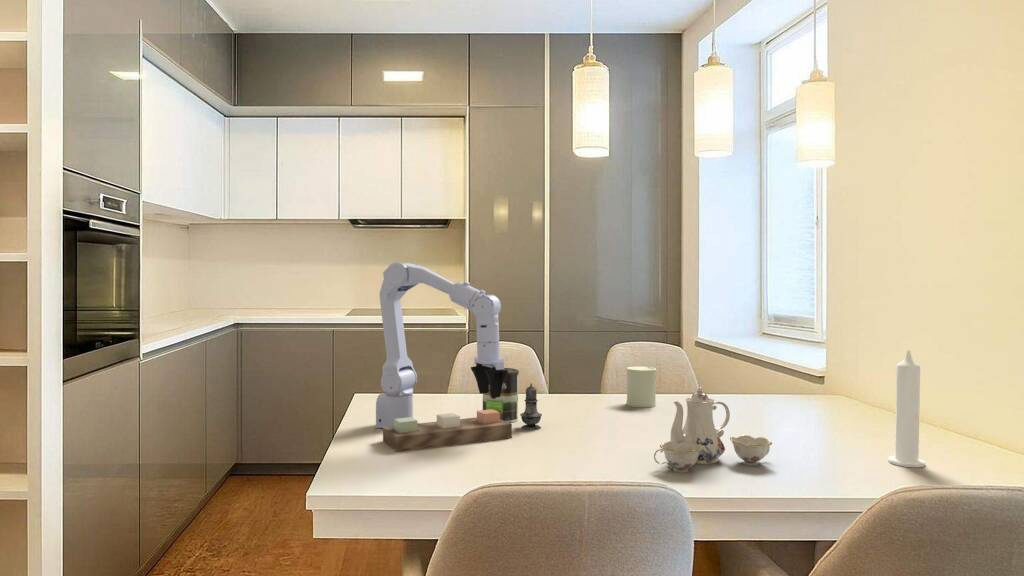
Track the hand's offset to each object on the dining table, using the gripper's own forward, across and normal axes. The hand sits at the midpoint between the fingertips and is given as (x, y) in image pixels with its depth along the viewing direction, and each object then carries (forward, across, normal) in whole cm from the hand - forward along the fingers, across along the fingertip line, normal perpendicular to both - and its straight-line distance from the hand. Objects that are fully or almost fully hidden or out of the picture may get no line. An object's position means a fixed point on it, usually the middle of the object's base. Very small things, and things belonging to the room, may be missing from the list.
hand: (489, 395), depth 177 cm
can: (+12, +17, -59) cm, 63 cm away
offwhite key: (+7, 0, +12) cm, 14 cm away
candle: (+14, -62, -72) cm, 97 cm away
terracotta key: (+7, 0, +1) cm, 7 cm away
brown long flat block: (+10, 0, +12) cm, 15 cm away
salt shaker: (+11, +3, -13) cm, 17 cm away
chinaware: (+13, -43, -33) cm, 56 cm away
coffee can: (+10, +16, -10) cm, 21 cm away
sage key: (+7, 0, +23) cm, 24 cm away
